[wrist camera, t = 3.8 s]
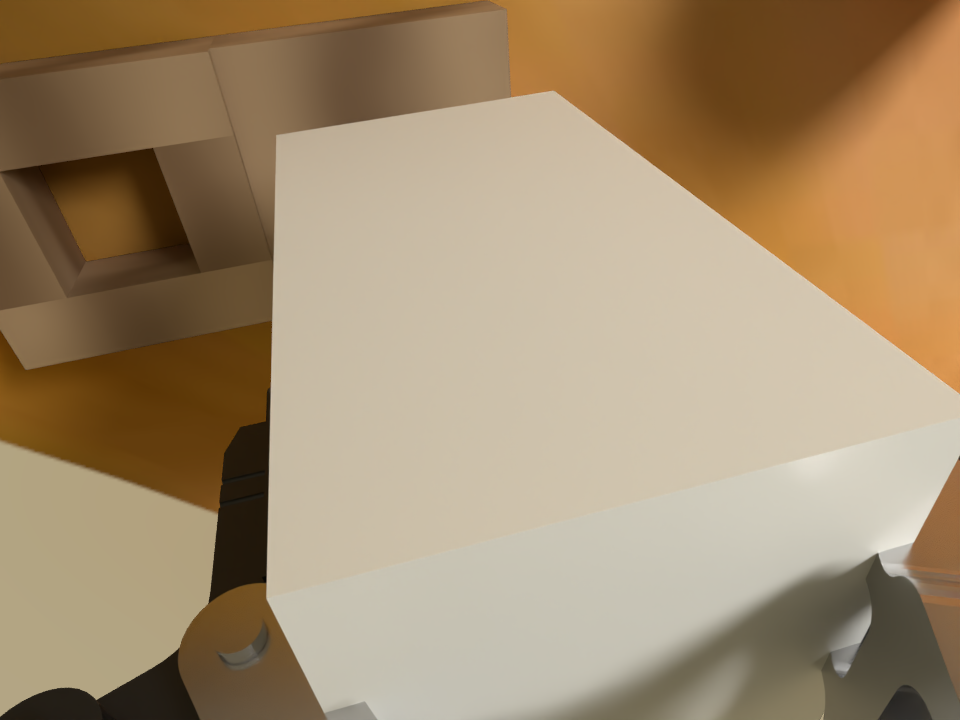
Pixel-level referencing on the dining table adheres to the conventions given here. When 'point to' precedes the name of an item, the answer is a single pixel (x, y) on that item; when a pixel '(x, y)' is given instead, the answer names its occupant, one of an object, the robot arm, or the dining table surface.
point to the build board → (191, 181)
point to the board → (355, 76)
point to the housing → (567, 433)
